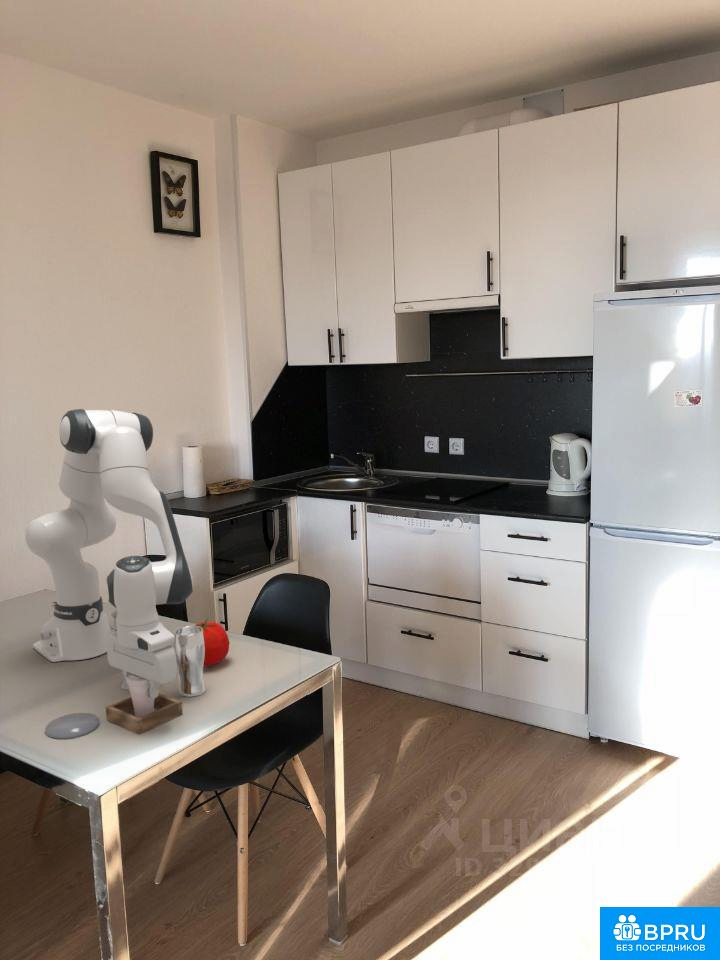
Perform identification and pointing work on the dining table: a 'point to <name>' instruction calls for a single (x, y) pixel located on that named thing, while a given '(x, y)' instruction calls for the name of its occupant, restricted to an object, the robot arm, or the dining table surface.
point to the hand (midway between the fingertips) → (143, 693)
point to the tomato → (214, 642)
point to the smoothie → (140, 695)
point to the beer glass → (190, 659)
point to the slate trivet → (72, 725)
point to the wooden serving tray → (140, 725)
